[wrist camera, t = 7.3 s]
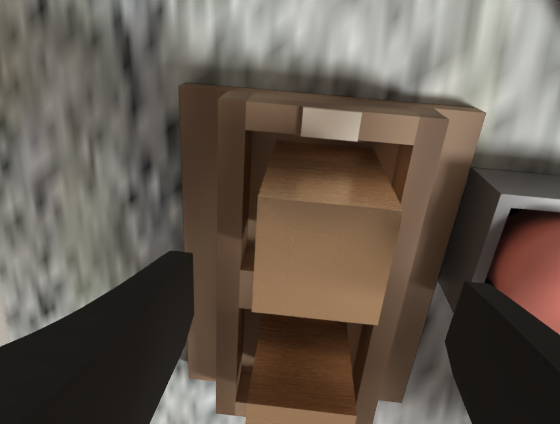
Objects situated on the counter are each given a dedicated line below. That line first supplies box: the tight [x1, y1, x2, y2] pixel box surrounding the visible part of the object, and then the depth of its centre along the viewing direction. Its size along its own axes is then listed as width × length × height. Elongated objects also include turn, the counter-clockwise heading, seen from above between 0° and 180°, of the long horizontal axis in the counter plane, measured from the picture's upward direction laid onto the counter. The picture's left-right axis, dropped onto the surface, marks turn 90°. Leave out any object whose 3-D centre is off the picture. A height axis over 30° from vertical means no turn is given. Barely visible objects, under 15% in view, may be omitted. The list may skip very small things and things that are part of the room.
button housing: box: [438, 168, 560, 313], centre depth 17 cm, size 6×6×3 cm
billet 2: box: [246, 313, 357, 424], centre depth 18 cm, size 4×4×6 cm
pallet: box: [179, 83, 486, 424], centre depth 18 cm, size 12×16×3 cm
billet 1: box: [252, 140, 403, 325], centre depth 15 cm, size 4×4×6 cm
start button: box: [487, 209, 560, 335], centre depth 16 cm, size 4×4×3 cm
